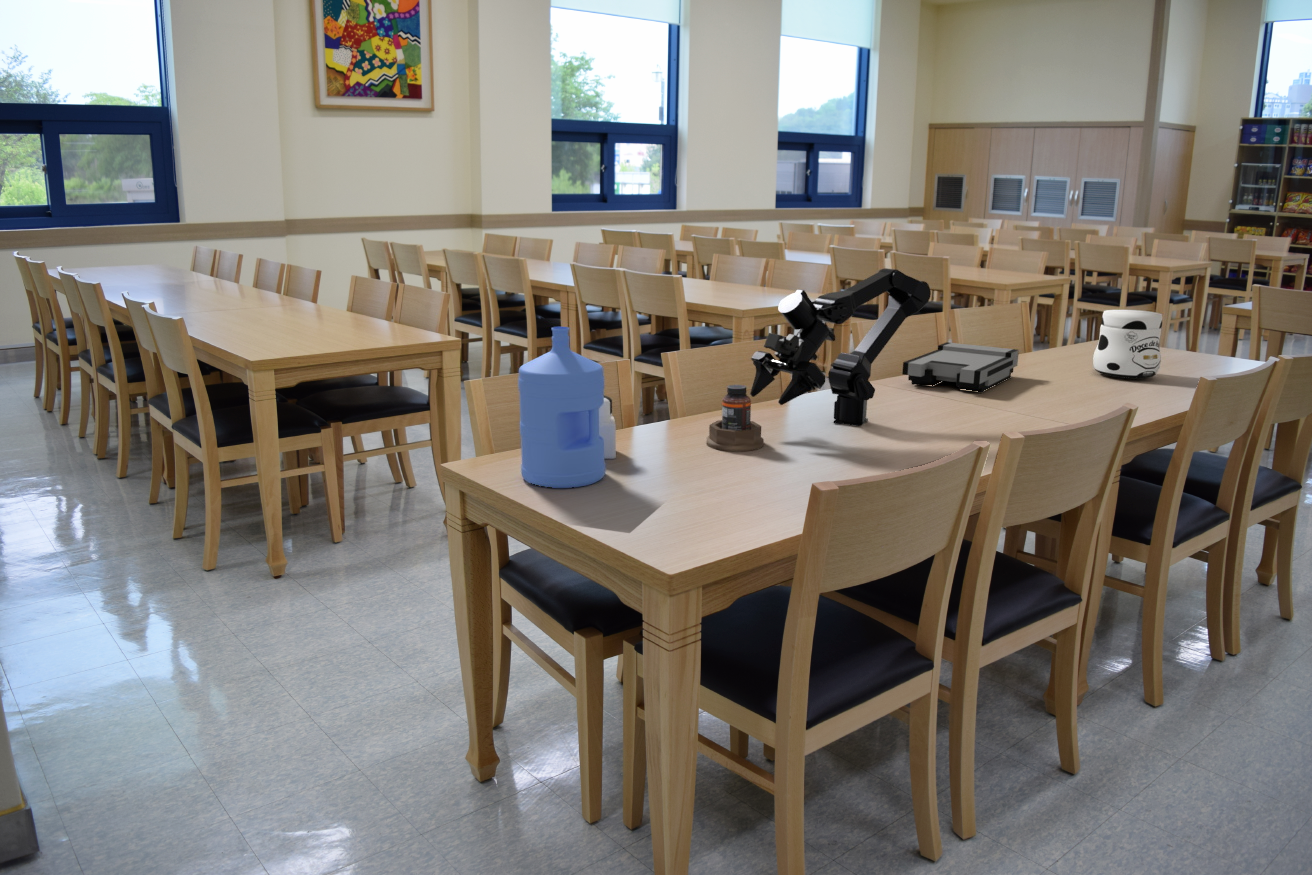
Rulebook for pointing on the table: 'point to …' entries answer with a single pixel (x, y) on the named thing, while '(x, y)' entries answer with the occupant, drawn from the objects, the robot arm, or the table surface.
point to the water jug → (561, 417)
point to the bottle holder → (734, 438)
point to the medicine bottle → (607, 428)
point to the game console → (963, 366)
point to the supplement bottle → (736, 409)
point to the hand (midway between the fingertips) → (765, 399)
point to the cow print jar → (1129, 344)
